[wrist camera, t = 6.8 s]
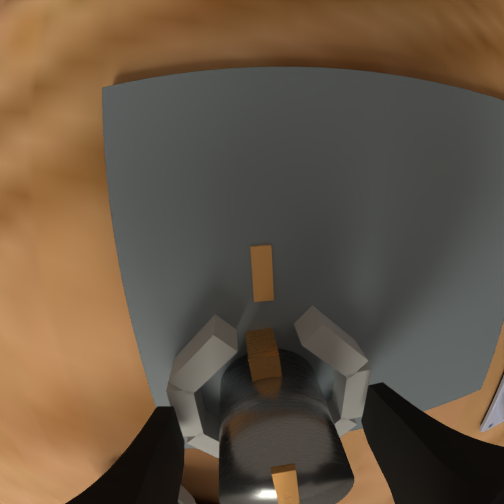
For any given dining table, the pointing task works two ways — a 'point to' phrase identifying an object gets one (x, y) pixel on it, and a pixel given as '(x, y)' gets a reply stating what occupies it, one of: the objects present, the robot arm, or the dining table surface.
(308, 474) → the knob
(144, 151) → the hub board
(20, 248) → the dining table surface
